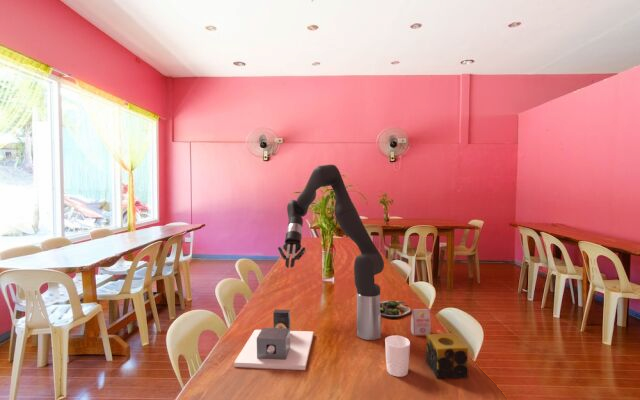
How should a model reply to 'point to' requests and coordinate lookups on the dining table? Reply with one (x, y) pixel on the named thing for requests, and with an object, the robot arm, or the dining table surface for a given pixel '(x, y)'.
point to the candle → (447, 356)
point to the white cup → (397, 355)
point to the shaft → (280, 324)
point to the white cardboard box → (420, 322)
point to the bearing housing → (273, 343)
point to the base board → (294, 360)
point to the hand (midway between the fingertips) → (289, 266)
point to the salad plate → (393, 309)
